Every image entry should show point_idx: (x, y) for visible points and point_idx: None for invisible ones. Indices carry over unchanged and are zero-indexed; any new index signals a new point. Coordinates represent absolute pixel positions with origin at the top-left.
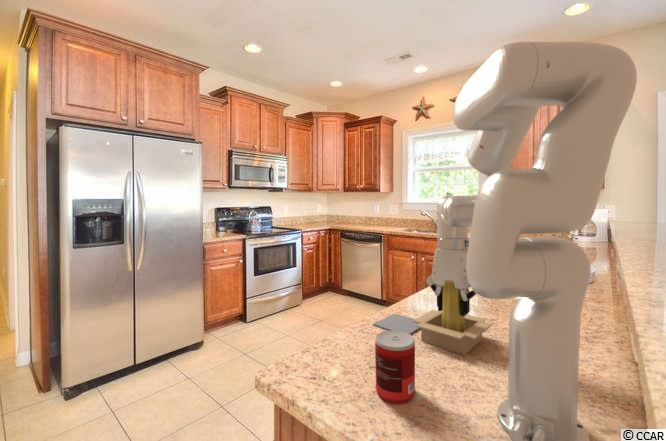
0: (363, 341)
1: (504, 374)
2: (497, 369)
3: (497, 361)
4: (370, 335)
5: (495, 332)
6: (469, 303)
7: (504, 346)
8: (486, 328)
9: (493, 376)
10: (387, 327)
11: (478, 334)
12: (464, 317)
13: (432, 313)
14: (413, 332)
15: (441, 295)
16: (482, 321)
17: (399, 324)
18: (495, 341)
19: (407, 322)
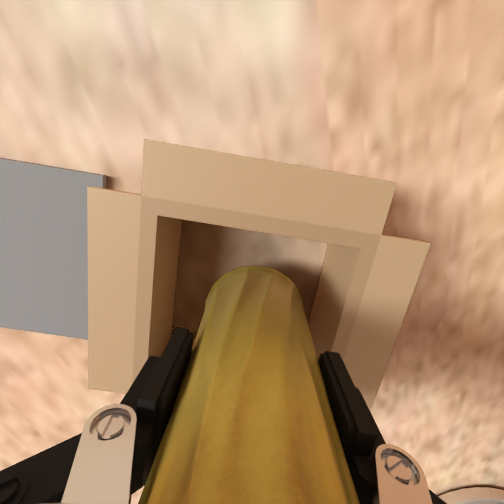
0: (20, 430)
1: (416, 408)
2: (400, 394)
3: (401, 353)
4: (3, 388)
5: (396, 97)
6: (378, 430)
7: (426, 234)
8: (404, 315)
9: (391, 428)
10: (3, 320)
11: (374, 392)
12: (311, 339)
13: (115, 255)
14: None
15: (148, 466)
16: (382, 229)
17: (17, 268)
18: (396, 205)
19: (28, 227)
